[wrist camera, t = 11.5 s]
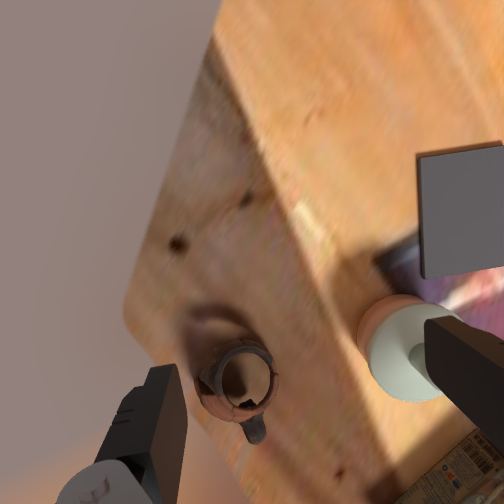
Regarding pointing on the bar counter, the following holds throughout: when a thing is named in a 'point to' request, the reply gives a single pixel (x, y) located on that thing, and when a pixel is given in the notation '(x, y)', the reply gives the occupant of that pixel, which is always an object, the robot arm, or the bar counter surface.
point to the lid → (404, 352)
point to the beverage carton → (463, 476)
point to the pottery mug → (218, 402)
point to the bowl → (380, 317)
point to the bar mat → (461, 211)
